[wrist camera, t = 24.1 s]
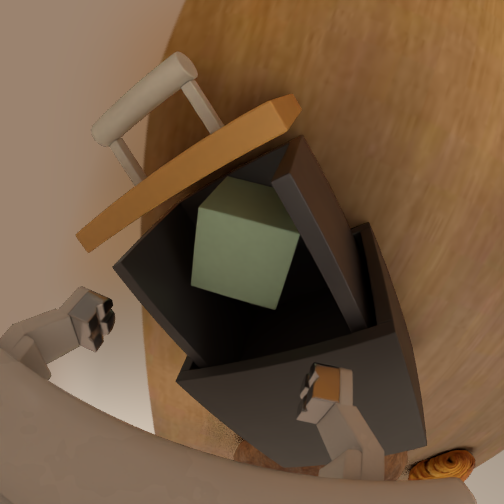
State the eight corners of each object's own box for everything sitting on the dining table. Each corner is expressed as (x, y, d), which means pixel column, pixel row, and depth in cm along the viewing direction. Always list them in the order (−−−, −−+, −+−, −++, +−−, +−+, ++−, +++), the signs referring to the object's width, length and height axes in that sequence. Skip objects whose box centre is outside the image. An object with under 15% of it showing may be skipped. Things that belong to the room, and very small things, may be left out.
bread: (326, 478, 49) (320, 518, 41) (213, 440, 45) (198, 487, 37) (434, 439, 35) (437, 492, 27) (316, 389, 31) (307, 468, 23)
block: (216, 242, 21) (190, 285, 17) (226, 175, 19) (198, 206, 14) (286, 261, 21) (275, 310, 17) (305, 196, 18) (300, 234, 14)
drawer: (122, 130, 19) (32, 169, 12) (255, 35, 15) (202, 0, 7) (247, 313, 26) (219, 400, 18) (378, 269, 21) (396, 364, 14)
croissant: (478, 431, 36) (486, 464, 29) (462, 465, 41) (467, 493, 34) (409, 450, 41) (412, 486, 34) (403, 480, 46) (404, 509, 39)
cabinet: (222, 279, 26) (175, 381, 17) (368, 221, 20) (395, 332, 11) (298, 379, 31) (283, 467, 22) (412, 348, 25) (427, 445, 17)
